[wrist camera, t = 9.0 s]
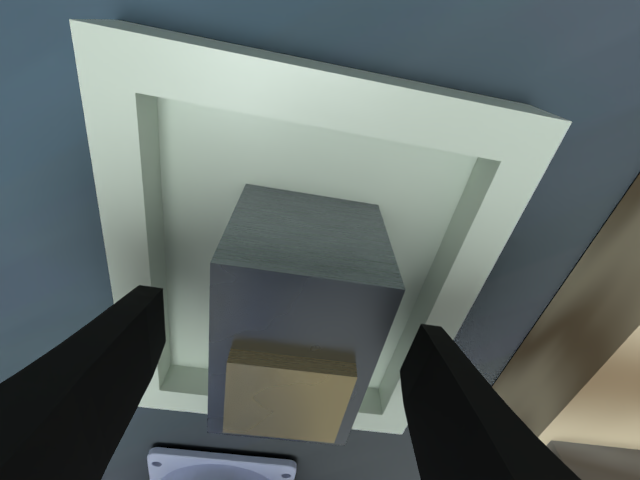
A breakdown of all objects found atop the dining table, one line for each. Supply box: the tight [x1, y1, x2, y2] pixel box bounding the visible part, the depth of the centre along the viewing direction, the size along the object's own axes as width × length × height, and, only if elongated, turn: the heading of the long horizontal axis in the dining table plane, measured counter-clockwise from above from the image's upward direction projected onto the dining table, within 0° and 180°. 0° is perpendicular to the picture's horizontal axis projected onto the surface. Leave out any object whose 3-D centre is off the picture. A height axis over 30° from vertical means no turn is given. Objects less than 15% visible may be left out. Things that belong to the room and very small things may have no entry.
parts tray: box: [69, 19, 572, 434], centre depth 12 cm, size 13×11×2 cm
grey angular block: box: [207, 184, 406, 446], centre depth 10 cm, size 6×4×4 cm, turn 170°
